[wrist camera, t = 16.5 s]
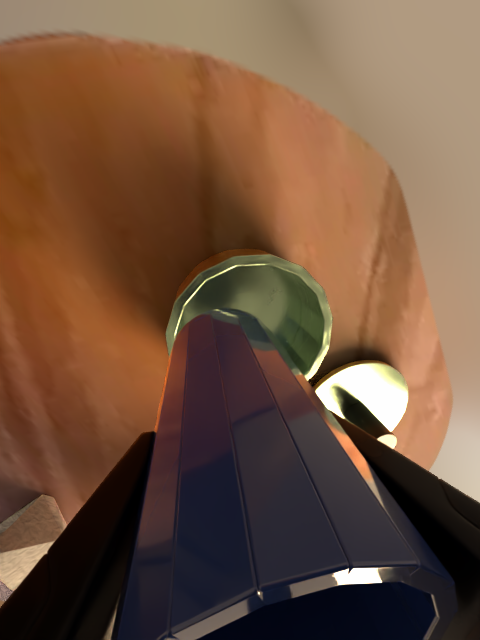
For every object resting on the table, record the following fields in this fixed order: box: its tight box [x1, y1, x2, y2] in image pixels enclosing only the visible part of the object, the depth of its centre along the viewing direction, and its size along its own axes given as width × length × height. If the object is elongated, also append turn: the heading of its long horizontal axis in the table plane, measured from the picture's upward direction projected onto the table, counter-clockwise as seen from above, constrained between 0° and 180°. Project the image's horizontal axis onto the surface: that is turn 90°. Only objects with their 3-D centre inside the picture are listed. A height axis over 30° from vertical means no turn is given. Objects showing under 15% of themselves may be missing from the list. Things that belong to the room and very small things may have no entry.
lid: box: [313, 360, 408, 449], centre depth 24 cm, size 12×12×5 cm
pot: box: [165, 249, 333, 381], centre depth 18 cm, size 11×11×4 cm
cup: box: [111, 308, 459, 640], centre depth 8 cm, size 6×6×10 cm
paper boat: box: [0, 494, 67, 590], centre depth 21 cm, size 12×6×9 cm
